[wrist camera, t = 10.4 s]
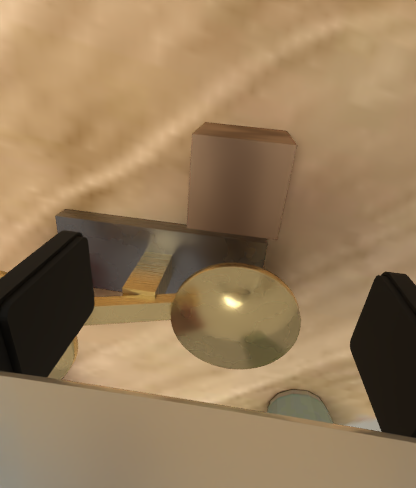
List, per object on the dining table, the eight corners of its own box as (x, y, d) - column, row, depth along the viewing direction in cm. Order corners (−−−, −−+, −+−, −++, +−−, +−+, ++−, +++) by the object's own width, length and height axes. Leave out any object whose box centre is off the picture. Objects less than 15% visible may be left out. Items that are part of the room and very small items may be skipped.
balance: (298, 228, 26) (330, 327, 16) (278, 312, 30) (292, 434, 20) (36, 195, 28) (-96, 264, 17) (51, 279, 32) (-47, 376, 21)
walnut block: (286, 130, 23) (297, 145, 18) (271, 207, 26) (277, 239, 20) (205, 122, 23) (192, 133, 18) (199, 198, 26) (186, 228, 21)
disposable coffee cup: (232, 399, 37) (222, 576, 24) (308, 359, 33) (346, 548, 19) (290, 445, 40) (310, 627, 26) (367, 413, 35) (437, 612, 22)
